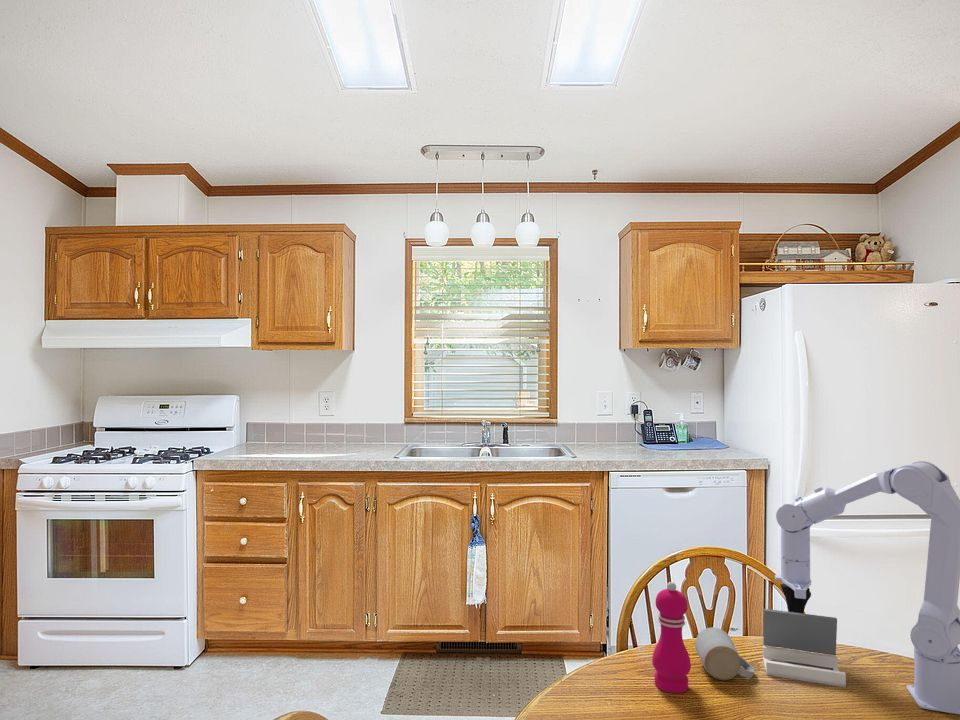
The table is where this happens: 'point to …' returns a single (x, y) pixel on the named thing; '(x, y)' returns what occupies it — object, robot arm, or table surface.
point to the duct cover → (800, 631)
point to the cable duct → (803, 666)
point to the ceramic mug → (721, 655)
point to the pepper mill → (671, 642)
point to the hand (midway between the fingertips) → (795, 620)
